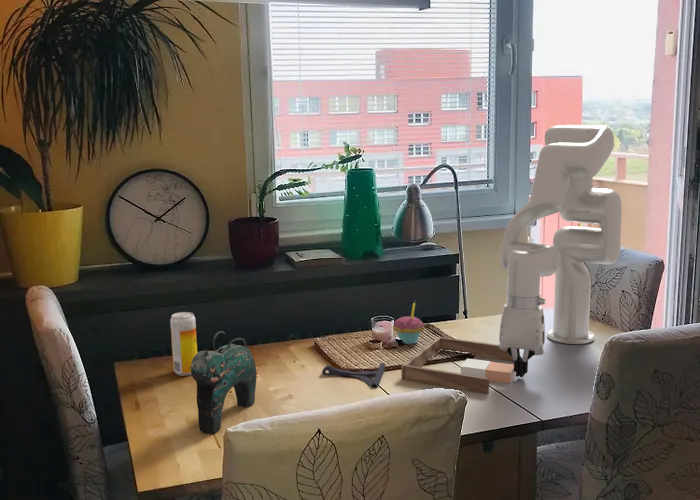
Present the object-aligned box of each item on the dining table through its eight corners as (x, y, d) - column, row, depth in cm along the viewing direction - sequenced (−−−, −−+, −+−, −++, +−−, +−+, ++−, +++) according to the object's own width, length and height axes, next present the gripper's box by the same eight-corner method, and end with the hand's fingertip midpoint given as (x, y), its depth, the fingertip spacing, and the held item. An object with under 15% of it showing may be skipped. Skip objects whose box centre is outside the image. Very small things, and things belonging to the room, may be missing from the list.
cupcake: (428, 339, 212) (429, 298, 210) (414, 348, 205) (414, 305, 203) (402, 335, 217) (402, 294, 214) (387, 343, 210) (387, 301, 207)
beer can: (203, 369, 191) (199, 312, 188) (188, 378, 186) (184, 319, 183) (183, 366, 194) (180, 310, 191) (168, 374, 188) (164, 316, 185)
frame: (438, 348, 204) (438, 336, 203) (517, 360, 194) (517, 347, 193) (401, 379, 182) (401, 365, 182) (487, 394, 172) (487, 379, 172)
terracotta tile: (490, 373, 187) (491, 361, 186) (515, 376, 184) (515, 364, 184) (485, 381, 181) (485, 369, 181) (510, 384, 179) (510, 373, 178)
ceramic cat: (213, 439, 152) (207, 344, 148) (186, 434, 154) (180, 340, 151) (262, 402, 170) (259, 317, 166) (238, 398, 172) (234, 314, 168)
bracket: (328, 366, 194) (328, 356, 193) (386, 369, 191) (385, 358, 191) (316, 387, 180) (316, 376, 180) (377, 390, 177) (377, 379, 177)
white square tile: (467, 369, 189) (467, 358, 188) (490, 372, 186) (490, 361, 186) (460, 378, 183) (460, 366, 183) (485, 381, 181) (485, 369, 180)
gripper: (558, 301, 177) (555, 374, 181) (496, 294, 184) (494, 365, 188) (551, 308, 171) (548, 385, 174) (487, 301, 178) (485, 375, 181)
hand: (520, 375), depth 181 cm, fingers closed
